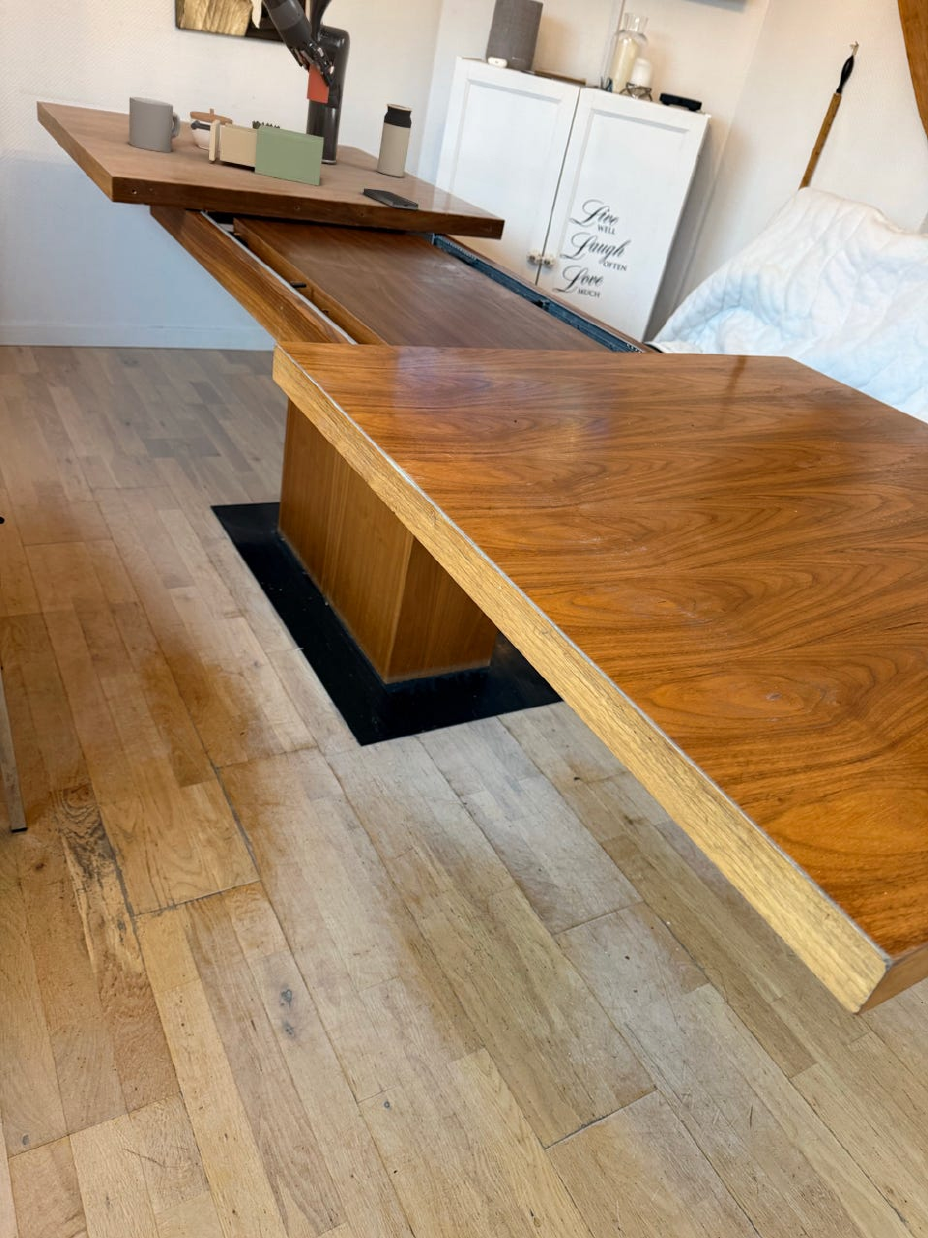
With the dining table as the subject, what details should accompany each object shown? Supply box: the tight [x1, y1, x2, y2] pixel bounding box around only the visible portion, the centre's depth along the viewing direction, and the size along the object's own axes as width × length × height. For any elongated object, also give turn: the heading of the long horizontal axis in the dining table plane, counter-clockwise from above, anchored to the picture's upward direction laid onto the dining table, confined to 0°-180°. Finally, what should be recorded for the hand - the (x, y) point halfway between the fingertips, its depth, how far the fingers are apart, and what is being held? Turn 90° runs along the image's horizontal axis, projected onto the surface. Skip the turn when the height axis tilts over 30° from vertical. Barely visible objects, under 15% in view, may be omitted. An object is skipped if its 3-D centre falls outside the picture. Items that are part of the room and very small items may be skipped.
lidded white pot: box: [189, 108, 234, 152], centre depth 241 cm, size 11×11×9 cm
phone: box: [362, 188, 419, 211], centre depth 227 cm, size 8×1×15 cm
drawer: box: [190, 120, 258, 168], centre depth 225 cm, size 19×11×8 cm, turn 97°
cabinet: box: [254, 124, 324, 187], centre depth 228 cm, size 16×13×10 cm
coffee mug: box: [128, 96, 181, 153], centre depth 224 cm, size 13×10×10 cm
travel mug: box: [376, 103, 413, 178], centre depth 267 cm, size 8×8×18 cm
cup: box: [251, 120, 281, 129], centre depth 250 cm, size 8×7×8 cm
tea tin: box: [306, 58, 332, 103], centre depth 229 cm, size 5×5×9 cm
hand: (324, 82), depth 231 cm, fingers closed on tea tin, 5 cm apart
